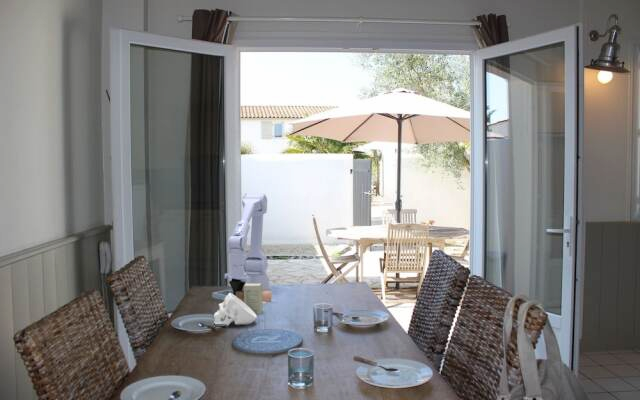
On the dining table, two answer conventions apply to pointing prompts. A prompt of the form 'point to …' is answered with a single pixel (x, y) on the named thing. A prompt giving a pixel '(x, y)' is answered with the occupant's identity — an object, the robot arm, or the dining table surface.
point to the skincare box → (253, 297)
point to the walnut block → (240, 295)
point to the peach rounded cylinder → (266, 296)
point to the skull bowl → (234, 312)
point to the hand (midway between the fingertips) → (237, 297)
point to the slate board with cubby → (223, 294)
